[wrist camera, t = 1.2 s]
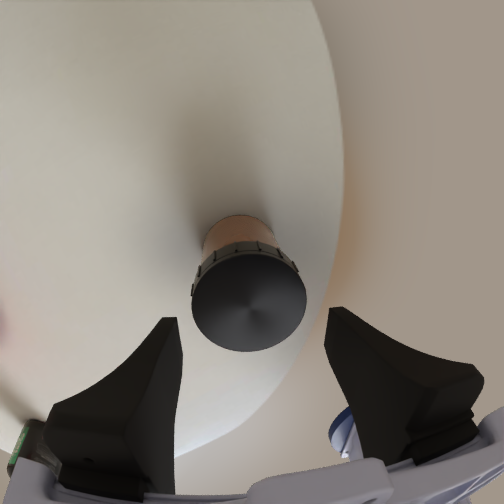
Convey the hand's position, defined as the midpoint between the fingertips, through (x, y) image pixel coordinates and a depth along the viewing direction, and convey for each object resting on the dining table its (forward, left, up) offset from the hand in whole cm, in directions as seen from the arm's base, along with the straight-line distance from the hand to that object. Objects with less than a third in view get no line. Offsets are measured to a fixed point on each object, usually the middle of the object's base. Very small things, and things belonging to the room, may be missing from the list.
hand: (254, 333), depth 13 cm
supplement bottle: (-25, +26, -10) cm, 38 cm away
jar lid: (0, 0, -2) cm, 2 cm away
